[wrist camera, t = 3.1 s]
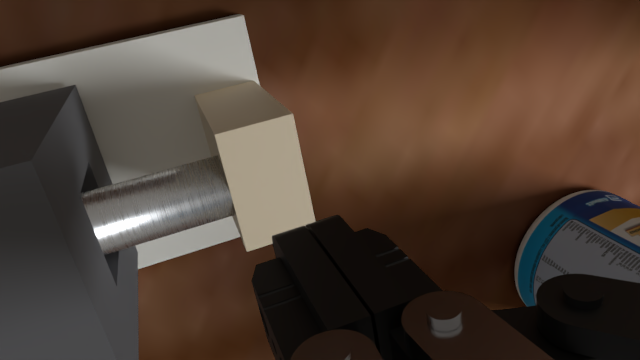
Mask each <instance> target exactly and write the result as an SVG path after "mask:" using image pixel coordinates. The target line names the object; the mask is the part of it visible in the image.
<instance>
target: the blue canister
mask: <svg viewBox="0 0 640 360" xmlns="http://www.w3.org/2000/svg"><path fill="white" fill-rule="evenodd" d="M565 274H588V275H594V276H600V277H606V278H612V279H618V280H624V281H630V282H636V283H640V207H639V206H637V205H635V204H632V203H631V202H629V201H627V200H626V199H623V198H621V197H619V196H617V195H615V194H612V193H610V192H606V191H602V190H584V191H579V192H575V193H572V194H570V195H567V196H565V197H563V198H561V199H559V200H558V201H556V202H555V203H553V204H552V205H550V206H549V207H548V208H547V209H545V210H544V211H543V212H542V213H541V214H540V215H539V216H538V217H537V218H536V220H535V221H534V222H533V223H532V225H531V226H530V228H529V229H528V231H527V232H526V234H525V236H524V237H523V239H522V242H521V244H520V246H519V249H518V252H517V256H516V260H515V268H514V277H515V284H516V288H517V291H518V294H519V296H520V298H521V299H522V301H523V302H524V304H525V305H526V306H527V307H528V306H536V294H537V290H538V288H539V287H540V285H541V284H543V283H544V282H545V281H547V280H548V279H551V278H553V277H556V276H559V275H565Z"/></svg>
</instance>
